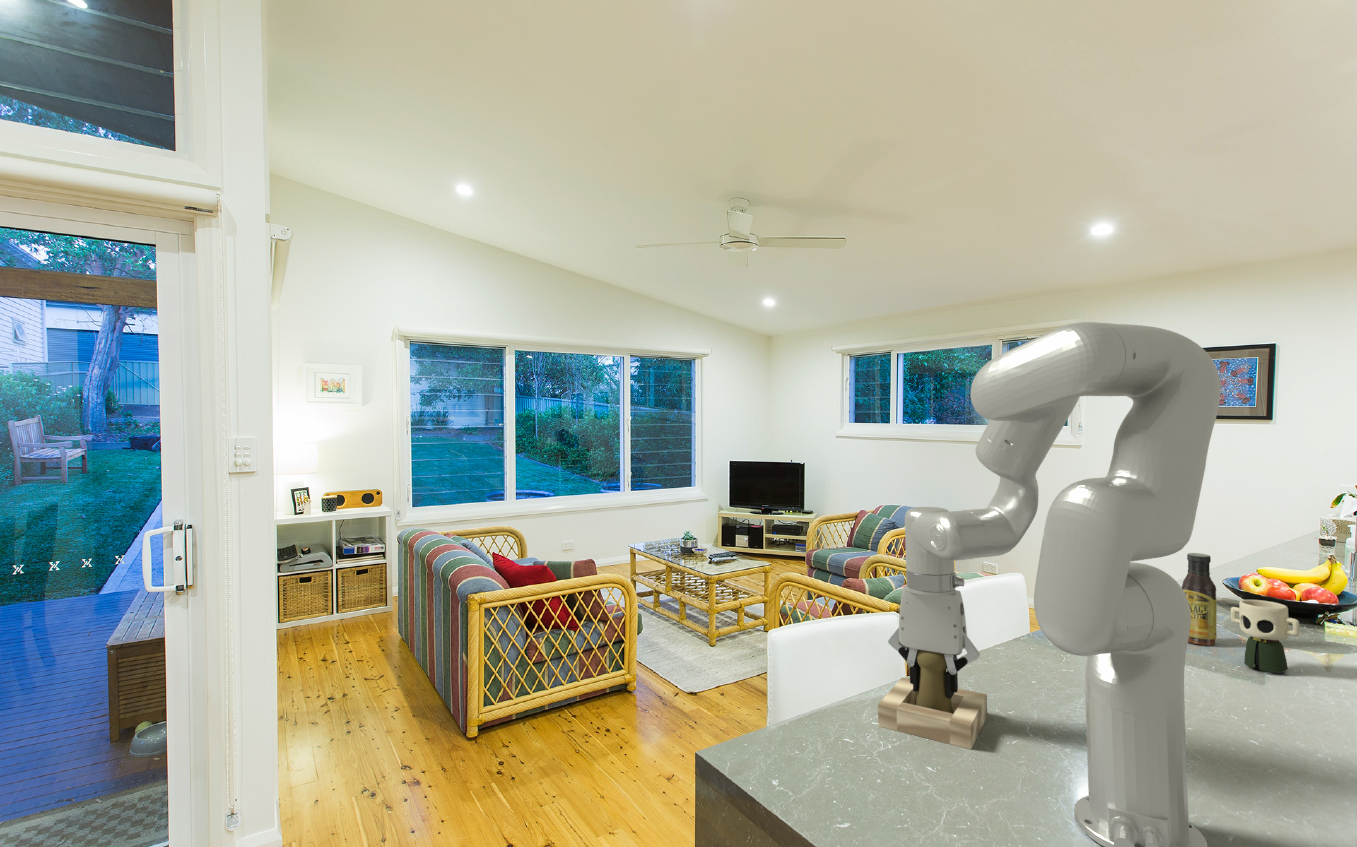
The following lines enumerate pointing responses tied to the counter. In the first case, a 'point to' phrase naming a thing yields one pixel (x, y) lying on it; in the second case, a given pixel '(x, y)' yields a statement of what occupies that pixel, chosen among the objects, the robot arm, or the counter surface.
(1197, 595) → the sauce bottle
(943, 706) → the cork
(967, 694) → the socket block
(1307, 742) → the counter surface
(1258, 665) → the character mug
